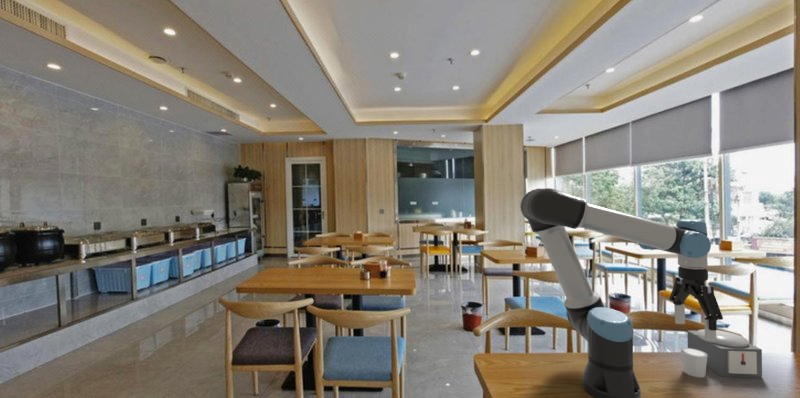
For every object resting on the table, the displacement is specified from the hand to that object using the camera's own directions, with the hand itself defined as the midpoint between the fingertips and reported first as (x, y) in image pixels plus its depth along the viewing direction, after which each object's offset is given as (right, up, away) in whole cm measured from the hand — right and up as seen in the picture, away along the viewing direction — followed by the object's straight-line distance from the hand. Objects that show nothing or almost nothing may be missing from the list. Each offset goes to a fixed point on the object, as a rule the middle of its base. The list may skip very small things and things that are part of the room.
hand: (694, 331), depth 114 cm
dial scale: (+13, -14, +5) cm, 20 cm away
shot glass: (0, -14, 0) cm, 14 cm away
